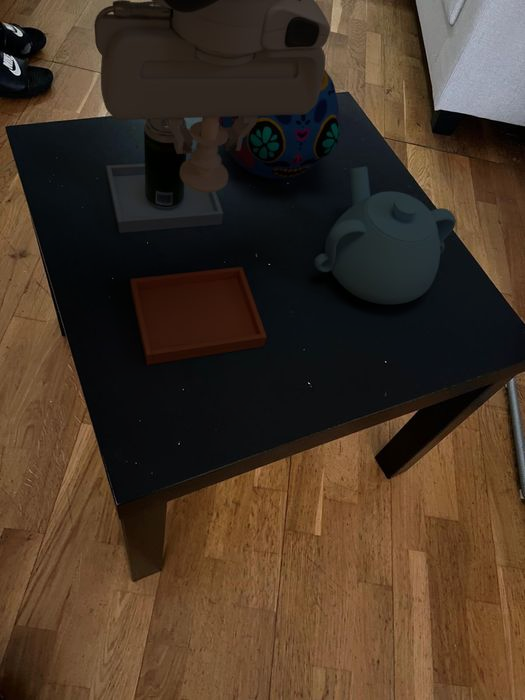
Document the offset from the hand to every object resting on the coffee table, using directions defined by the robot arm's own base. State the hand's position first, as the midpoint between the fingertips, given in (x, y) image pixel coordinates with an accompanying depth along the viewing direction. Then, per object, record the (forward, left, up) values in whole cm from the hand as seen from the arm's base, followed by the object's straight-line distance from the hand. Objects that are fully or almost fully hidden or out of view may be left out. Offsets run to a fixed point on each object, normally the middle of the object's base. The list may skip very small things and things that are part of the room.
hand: (207, 148), depth 55 cm
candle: (0, 0, -4) cm, 4 cm away
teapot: (+24, -2, -19) cm, 31 cm away
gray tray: (-2, +13, -19) cm, 23 cm away
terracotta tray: (-2, -8, -19) cm, 20 cm away
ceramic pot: (+16, +20, -19) cm, 32 cm away
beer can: (-2, +13, -18) cm, 23 cm away
